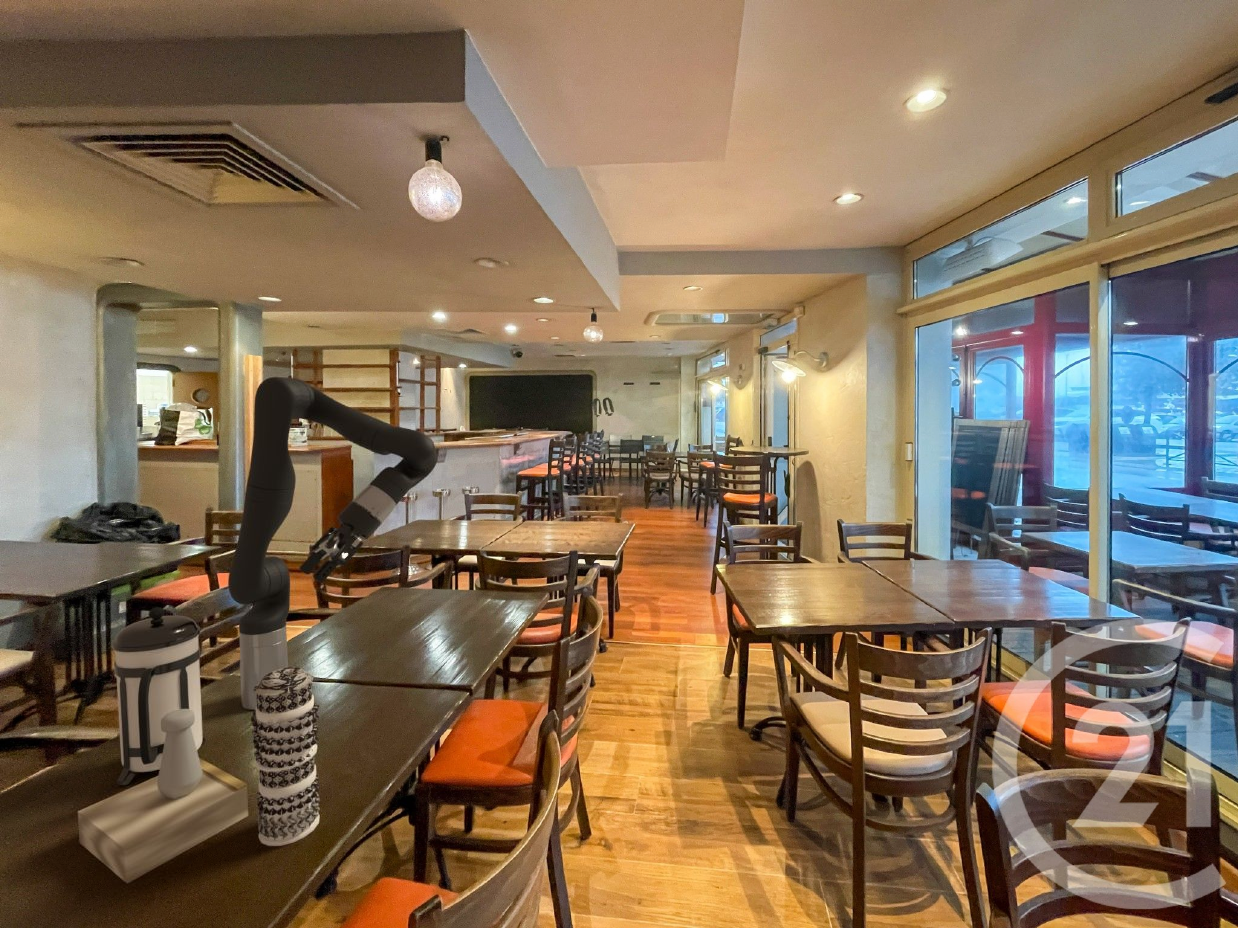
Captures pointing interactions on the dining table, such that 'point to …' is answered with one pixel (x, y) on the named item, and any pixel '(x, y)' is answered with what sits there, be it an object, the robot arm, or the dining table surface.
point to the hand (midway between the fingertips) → (309, 575)
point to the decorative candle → (286, 756)
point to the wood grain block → (160, 822)
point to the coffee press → (155, 686)
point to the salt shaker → (179, 756)
